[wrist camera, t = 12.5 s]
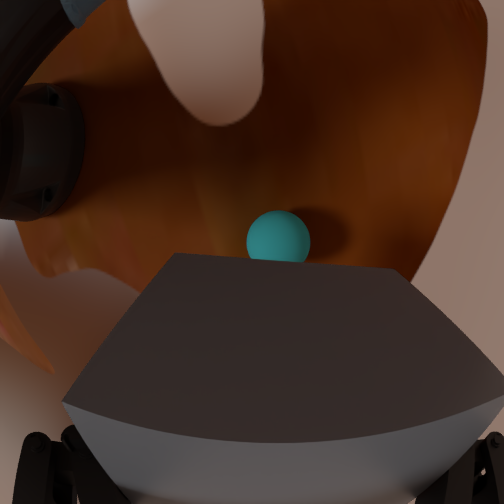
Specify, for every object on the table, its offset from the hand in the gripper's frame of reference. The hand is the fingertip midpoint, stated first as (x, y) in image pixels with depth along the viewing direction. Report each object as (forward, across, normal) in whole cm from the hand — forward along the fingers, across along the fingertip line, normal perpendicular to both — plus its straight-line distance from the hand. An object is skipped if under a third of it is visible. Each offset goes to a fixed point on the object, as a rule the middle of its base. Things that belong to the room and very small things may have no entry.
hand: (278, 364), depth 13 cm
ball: (+11, 0, +3) cm, 11 cm away
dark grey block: (+1, 0, 0) cm, 1 cm away
